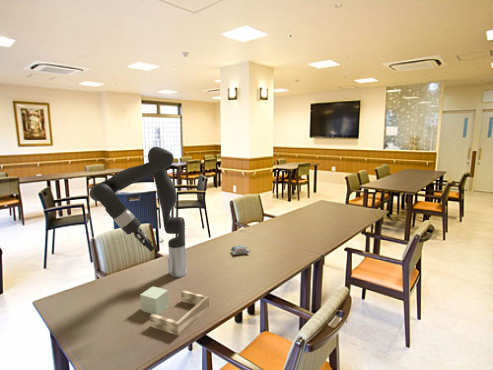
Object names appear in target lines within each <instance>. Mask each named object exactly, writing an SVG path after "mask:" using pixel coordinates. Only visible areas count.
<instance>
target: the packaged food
mask: <svg viewBox="0 0 493 370" xmlns="http://www.w3.org/2000/svg"><path fill="white" fill-rule="evenodd" d="M230 252H232V255H236V256H238V255H246V254H249V253H251V252H252V251H251V249H248V246H246V245H245V244H244V245H236V246H235V245H234V246H232V247H231V248H230Z"/></svg>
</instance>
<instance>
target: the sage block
mask: <svg viewBox="0 0 493 370" xmlns="http://www.w3.org/2000/svg"><path fill="white" fill-rule="evenodd" d="M139 298H140V306H141V307H140V308H141V312H144V313H148V314H150V315H151V314H156V315H160V314H161V313H162V312H164V311H165V310H166V309H167V308H168V307H170V302H169V290H168V289H166V288H161V287H157V286H153V285H152V286H150V287H149V288H148V289H146V290H145V291H144V292H142V293H140V297H139Z"/></svg>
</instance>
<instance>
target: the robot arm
mask: <svg viewBox="0 0 493 370" xmlns="http://www.w3.org/2000/svg"><path fill="white" fill-rule="evenodd" d="M174 160H175V159H174V154H173V153H172V152H171V151H170V150H168V149H165V148H163V147H159V146H152V147H151V148H150V149H149V150H148V153H147V161H148V162H146V163H142V164H140V165H136V166H131V167H128V168H125V169H123V170H121V171H119V172H117V173H116V174H114V175H112V176H111V177H110V178H109V177H108V179H105V180H104V181H101V182H99V183H97V184H95V185H93V186H92V187H91V188H90V189H89V197H90V198H91V200H93V201H95V202H99V203H100V204H101V205H102V206H103V208H105V209H104V210H105V212H106V213H107V214H108V216H109V217H111V218H112V219H113V221H114V222H115V223H116V225H117V226H118V227H119V228H120V229H121V230H122V231H123V232H124V233H125V234H126V235H131V234H133V237H134V238H135V239H137V241H138V242H139V243H141V245H142V246H143V247H146V248H147V249H148V251H150V252H152V251H154V250H155V247H154V245H153V243H152V240H150V239H149V238H148V236H147V235H146V233H145V231H144V230H143V229H142V228H140V227H141V225H142V222H141V221H140V220H139V219H138V218H137V217H136V216H135V215H134V214H133V211H130V210H129V209H128V208H127V207H126V205H124V203H123V202H122V201H121V200H120V198H119V197H118V195H116V193H117V192H119V191H122V190H124V189H126V188H127V187H129V186H131V185H132V184H134V183H137V182H139V181H140V180H142V179H144V178H146V177H149V176H151V175H152V176H153V179H154V180H153V181H154V183H155V188H156V193H157V197H158V201H159V205H160V208H161V214H162V222H163V229H164V232H165V233H166V234H170V235H177V236H175V237H172V238H170V239H169V240H168V241H167V243H168V244H167V245H168V258H167V265H168V267H167V268H168V275H170V277H172V278H181V277H184V276H186V275H187V254H186V221H185V219H184V217H183V216H182V217H181V216H180V217H179V216H175V217H174V216H171V211H172V209H173V208H174V206H175V204H176V202H177V201H178V200H177V199H178V195H177V190H176V186H175V184H174V182H173V180H172V179H171V177H170V175H169V173H168V171H167V169H168V168H170V167H171V166H172V165H173V163H174Z"/></svg>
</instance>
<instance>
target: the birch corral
mask: <svg viewBox="0 0 493 370" xmlns="http://www.w3.org/2000/svg"><path fill="white" fill-rule="evenodd" d="M180 294H181V295H180V296H181V298H180V299H181V302H183V303H187V304H188V305H189V304H190V305H194V306H193V307H192V308H191V309H190V310H189V311H188V312H186V314H184V315H183V316H182V317H181V318H180V319H179V320H178V321H177V320H176V319H175V320H174V319H171V318H167V317H165V316H162V315H160V314H158V315H156V314H150V315H149V320H150V321H149V322H150V327H151V328H154V329H155V330H156V329H157V330H159V331H162V332H166V333H169V334H172V335H175V336H176V337H177V336H178V337H180V336H181V335H182V334H183V333H185V331H186V330H188V328H189V327H190V326H191V325H192V324H193V323H194V322H195V321H196V320H198V319H199V318H200V317H201V315H202V314H204V312H206V311H207V310H208V309H209V307H210V297H209V296H208V295H203V294H200V293H195V292H191V291H188V290H184V289H182V291H180Z"/></svg>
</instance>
